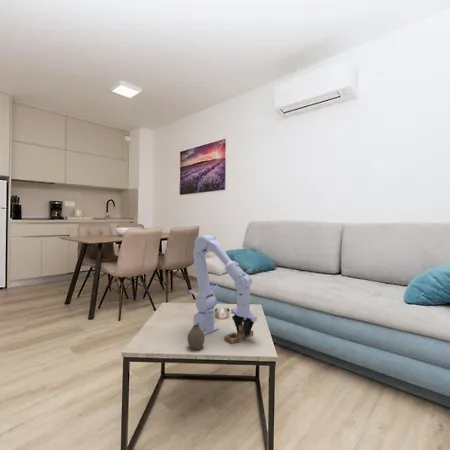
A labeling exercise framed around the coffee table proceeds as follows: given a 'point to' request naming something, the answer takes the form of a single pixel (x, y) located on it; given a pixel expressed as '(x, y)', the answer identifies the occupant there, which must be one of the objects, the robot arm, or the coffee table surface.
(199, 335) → the vase
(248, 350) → the coffee table surface
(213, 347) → the coffee table surface
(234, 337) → the link
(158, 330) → the coffee table surface
